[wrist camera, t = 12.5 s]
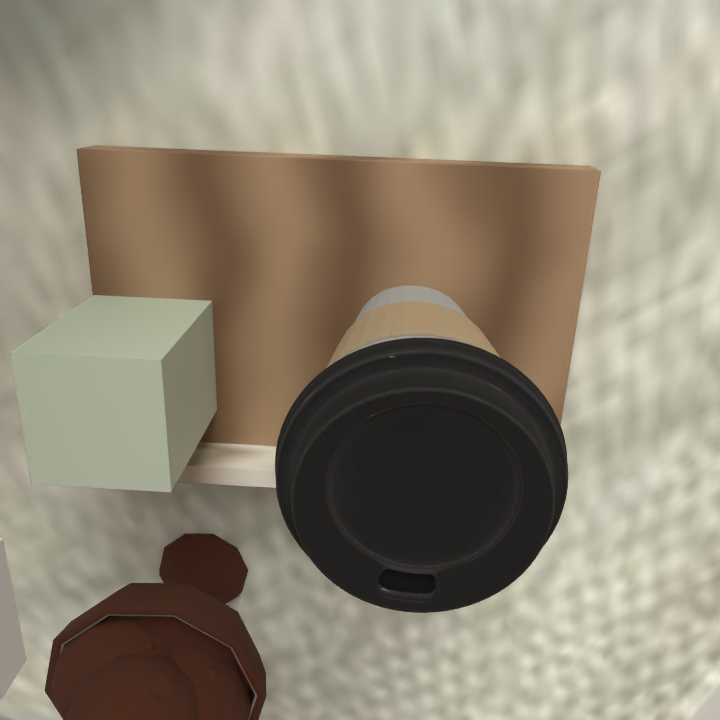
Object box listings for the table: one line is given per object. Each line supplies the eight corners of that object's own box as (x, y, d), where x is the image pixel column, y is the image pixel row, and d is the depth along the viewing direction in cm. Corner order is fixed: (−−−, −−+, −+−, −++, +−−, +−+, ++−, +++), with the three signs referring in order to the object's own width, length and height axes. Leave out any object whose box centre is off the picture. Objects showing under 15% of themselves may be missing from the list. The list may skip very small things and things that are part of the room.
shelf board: (124, 439, 40) (92, 480, 36) (94, 145, 34) (51, 154, 30) (544, 462, 39) (561, 507, 35) (589, 166, 33) (617, 177, 29)
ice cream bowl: (81, 554, 43) (-71, 779, 29) (213, 463, 40) (116, 663, 26) (195, 663, 46) (106, 915, 32) (326, 584, 43) (293, 824, 29)
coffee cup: (356, 444, 37) (333, 662, 23) (287, 283, 34) (212, 422, 20) (529, 390, 35) (616, 589, 21) (473, 216, 32) (532, 315, 18)
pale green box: (105, 406, 37) (31, 487, 29) (93, 295, 34) (9, 352, 27) (217, 412, 37) (171, 495, 29) (212, 300, 34) (161, 360, 27)
